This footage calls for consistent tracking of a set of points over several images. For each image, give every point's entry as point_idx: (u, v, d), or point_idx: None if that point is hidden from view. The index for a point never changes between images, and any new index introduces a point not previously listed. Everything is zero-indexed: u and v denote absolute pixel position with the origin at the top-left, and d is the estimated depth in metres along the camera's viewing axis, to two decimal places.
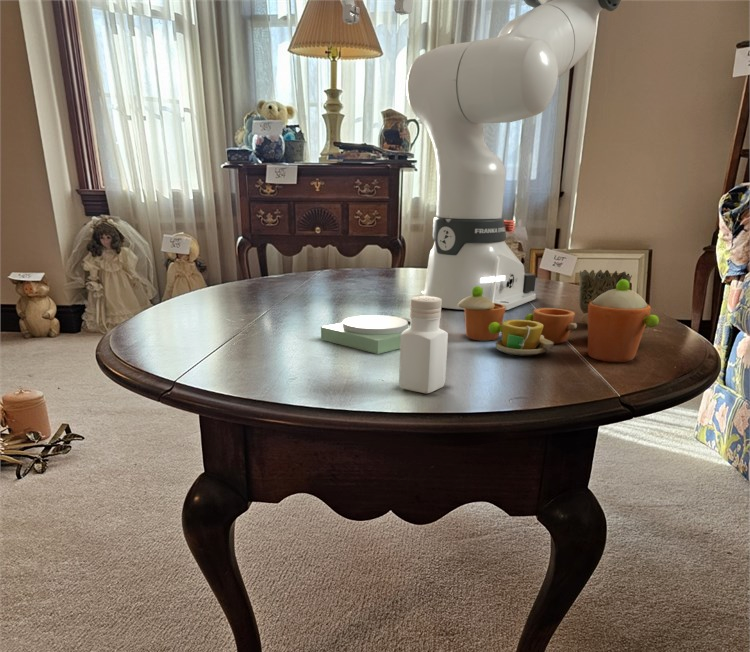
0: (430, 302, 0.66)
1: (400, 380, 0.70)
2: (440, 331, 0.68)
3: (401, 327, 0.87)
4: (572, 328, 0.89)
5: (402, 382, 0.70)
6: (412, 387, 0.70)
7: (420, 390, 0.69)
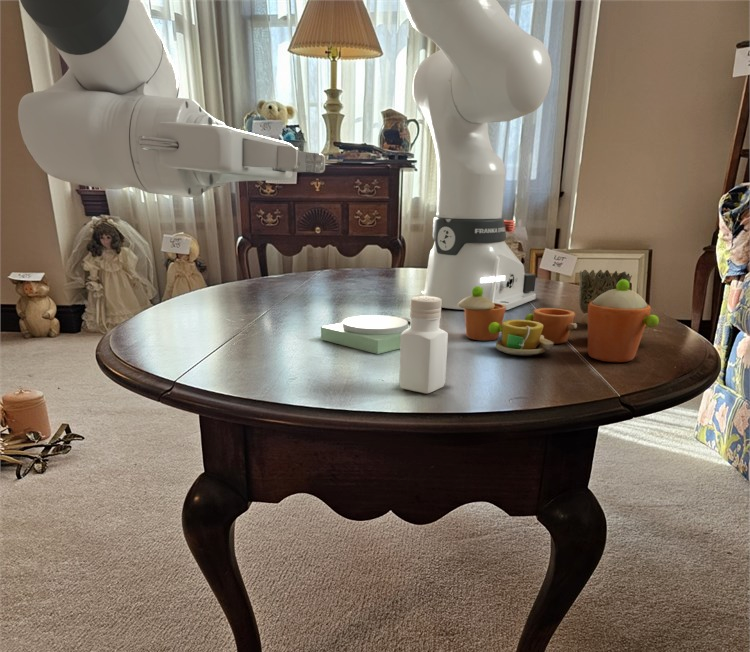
0: (430, 302, 0.66)
1: (400, 380, 0.70)
2: (440, 331, 0.68)
3: (401, 327, 0.87)
4: (572, 328, 0.89)
5: (402, 382, 0.70)
6: (412, 387, 0.70)
7: (420, 390, 0.69)
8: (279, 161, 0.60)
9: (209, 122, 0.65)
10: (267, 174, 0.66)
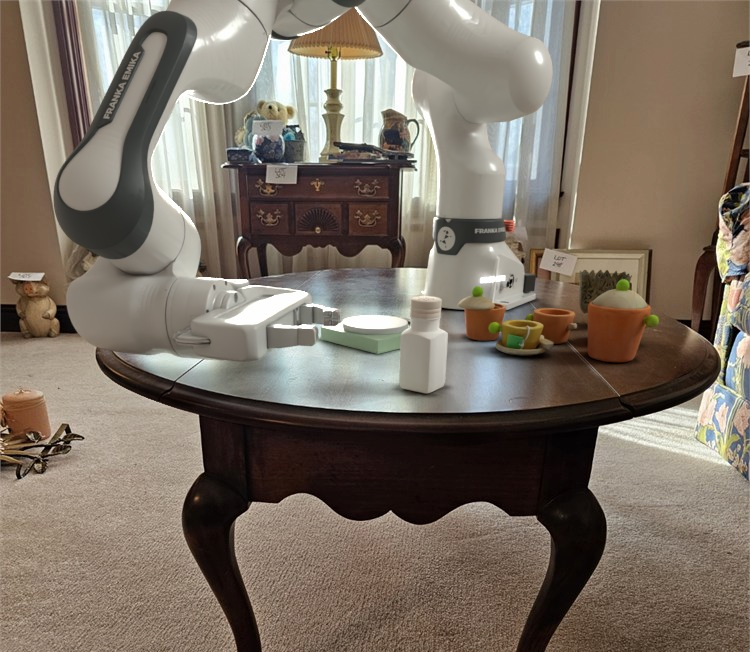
0: (430, 302, 0.66)
1: (400, 380, 0.70)
2: (440, 331, 0.68)
3: (401, 327, 0.87)
4: (572, 328, 0.89)
5: (402, 382, 0.70)
6: (412, 387, 0.70)
7: (420, 390, 0.69)
8: (300, 340, 0.66)
9: (235, 296, 0.72)
10: None
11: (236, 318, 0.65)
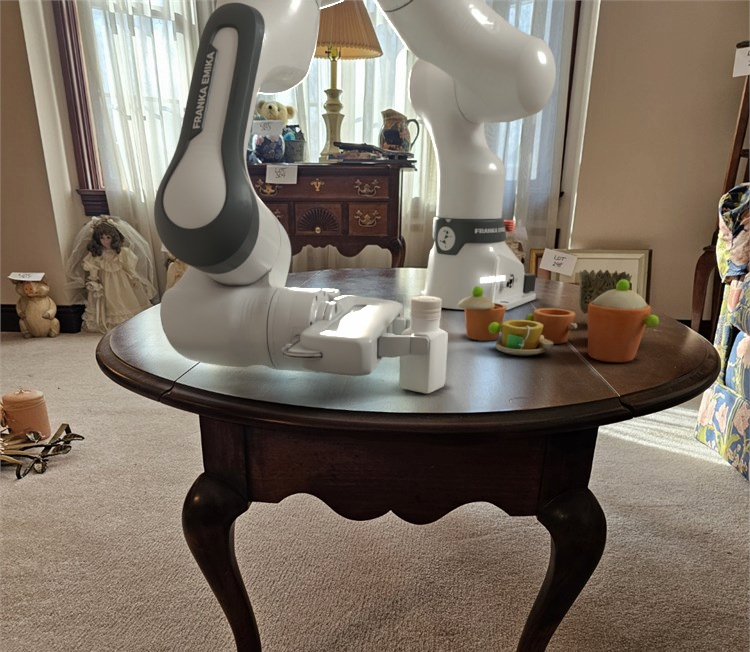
0: (430, 302, 0.66)
1: (400, 380, 0.70)
2: (440, 331, 0.68)
3: None
4: (572, 328, 0.89)
5: (402, 382, 0.70)
6: (412, 387, 0.70)
7: (420, 390, 0.69)
8: (412, 349, 0.66)
9: (334, 307, 0.70)
10: None
11: (346, 331, 0.63)
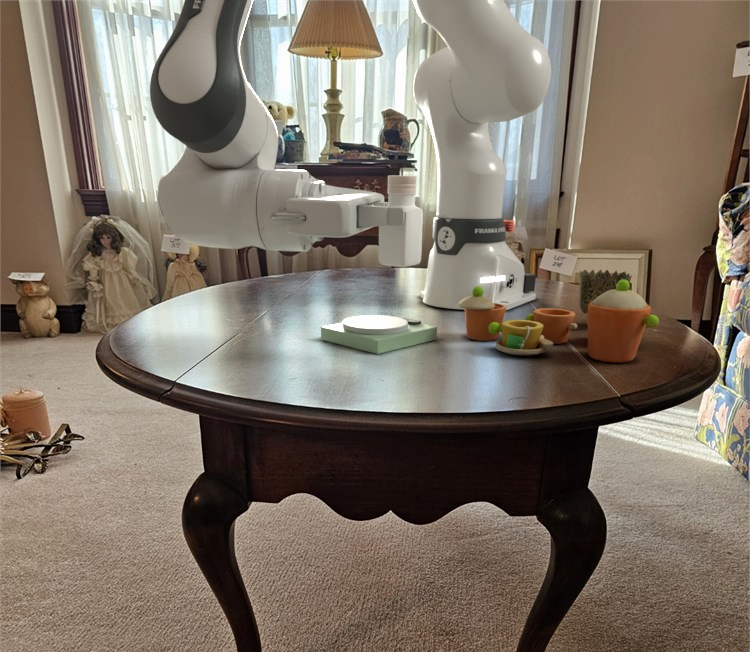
0: (405, 176, 0.72)
1: (379, 256, 0.76)
2: (415, 207, 0.74)
3: (401, 327, 0.87)
4: (572, 328, 0.89)
5: (381, 257, 0.76)
6: (390, 261, 0.76)
7: (397, 263, 0.75)
8: (389, 220, 0.72)
9: (319, 187, 0.76)
10: (369, 227, 0.77)
11: (328, 198, 0.69)
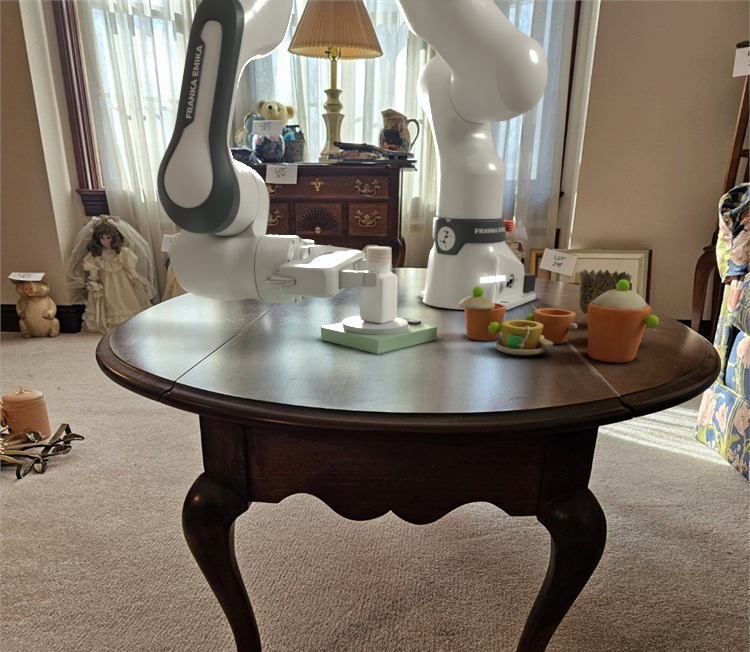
0: (382, 249, 0.85)
1: (360, 314, 0.89)
2: (391, 273, 0.87)
3: (401, 327, 0.87)
4: (572, 328, 0.89)
5: (362, 315, 0.89)
6: (370, 318, 0.89)
7: (376, 321, 0.88)
8: (364, 282, 0.83)
9: (308, 250, 0.89)
10: None
11: (315, 264, 0.82)
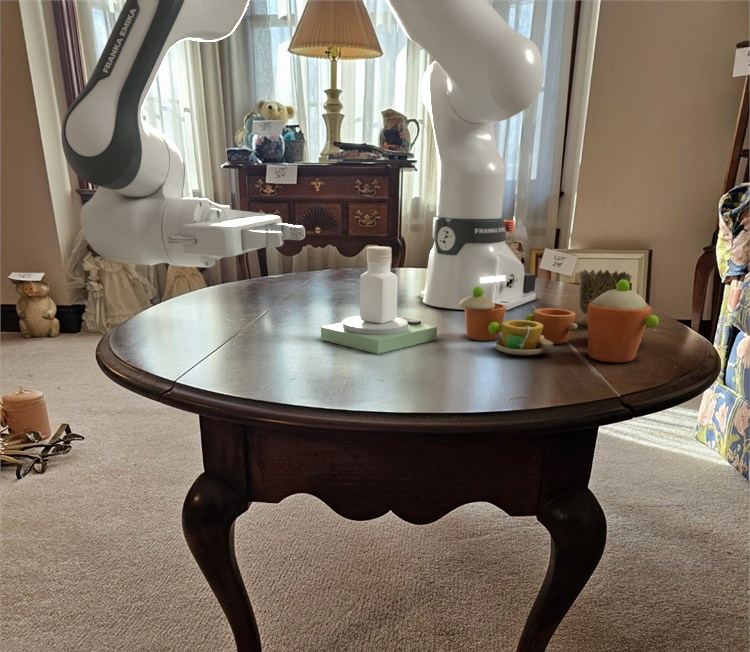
0: (382, 249, 0.85)
1: (360, 314, 0.89)
2: (391, 273, 0.87)
3: (401, 327, 0.87)
4: (573, 328, 0.89)
5: (362, 315, 0.89)
6: (370, 318, 0.89)
7: (376, 321, 0.88)
8: (268, 243, 0.83)
9: (217, 213, 0.89)
10: None
11: None
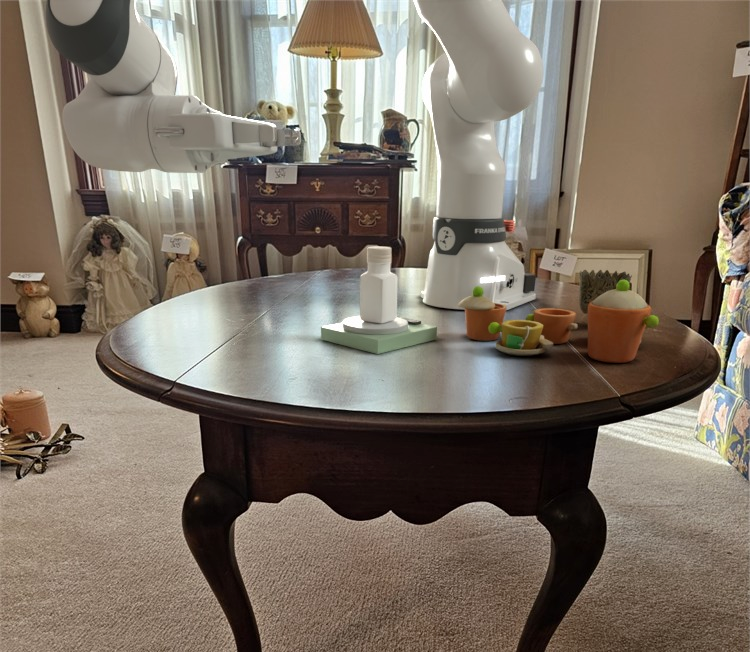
0: (382, 249, 0.85)
1: (360, 314, 0.89)
2: (391, 273, 0.87)
3: (401, 327, 0.87)
4: (573, 328, 0.89)
5: (362, 315, 0.89)
6: (370, 318, 0.89)
7: (376, 321, 0.88)
8: (261, 137, 0.78)
9: (207, 112, 0.84)
10: (255, 149, 0.84)
11: None
